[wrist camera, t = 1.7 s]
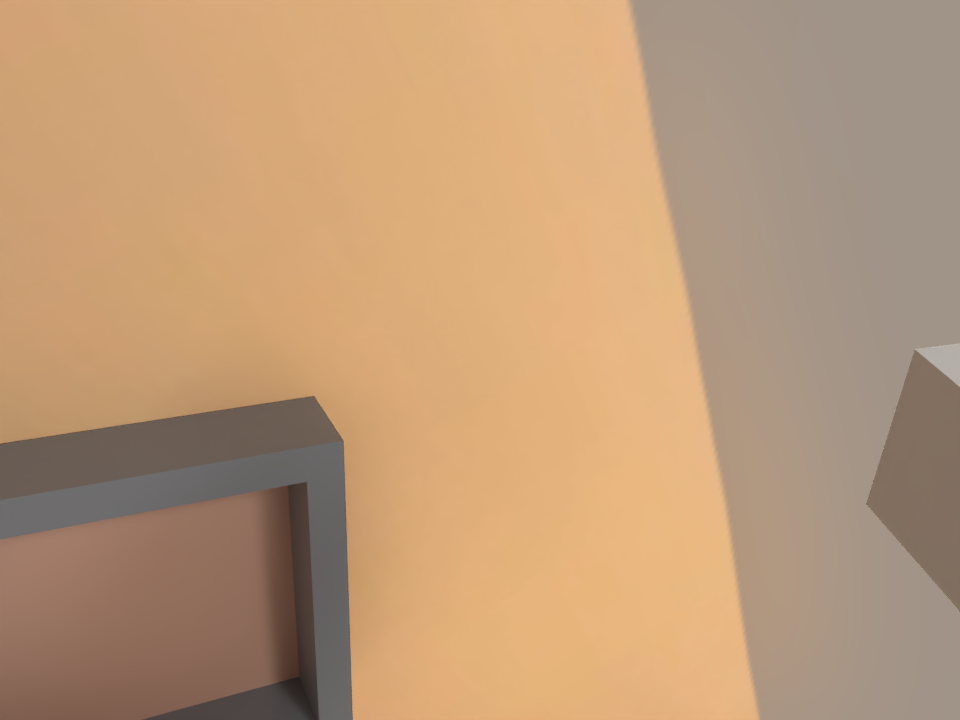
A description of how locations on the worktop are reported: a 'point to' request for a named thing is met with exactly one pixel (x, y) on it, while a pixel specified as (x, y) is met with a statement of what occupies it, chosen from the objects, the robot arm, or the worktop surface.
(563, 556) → the worktop surface
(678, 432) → the worktop surface
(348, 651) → the frame
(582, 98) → the worktop surface
